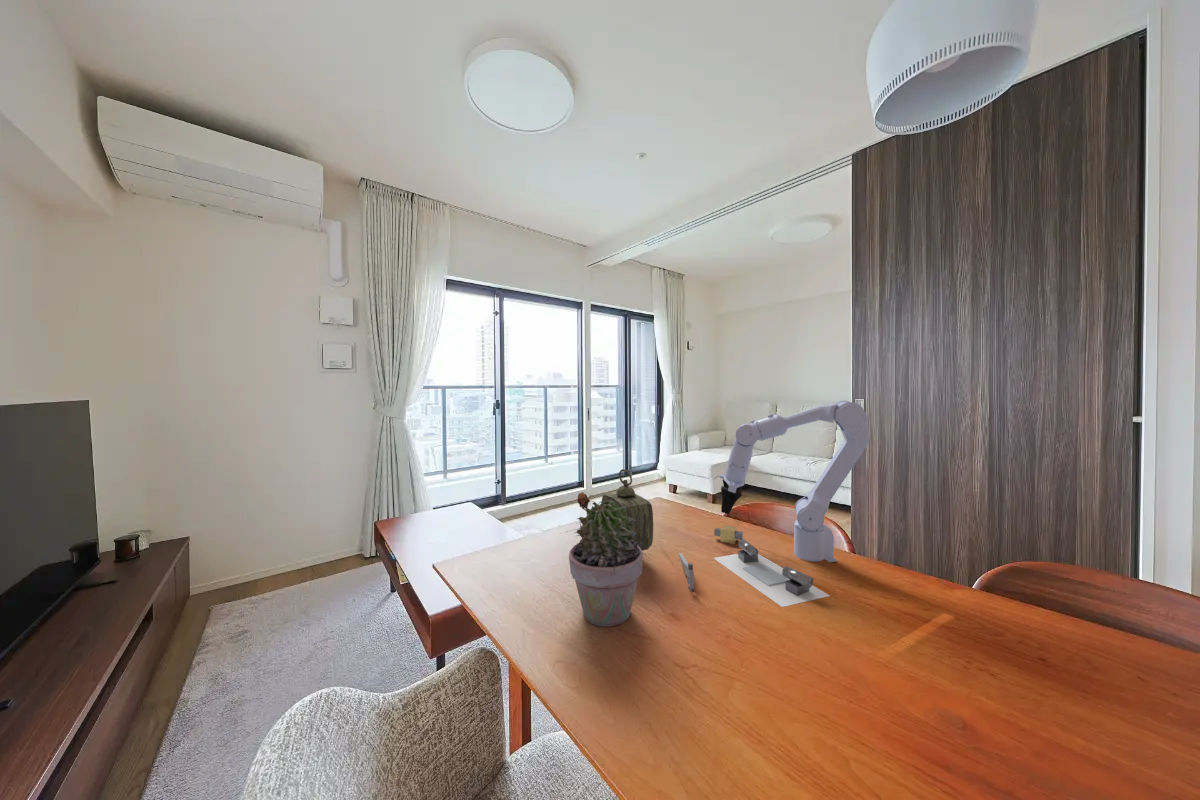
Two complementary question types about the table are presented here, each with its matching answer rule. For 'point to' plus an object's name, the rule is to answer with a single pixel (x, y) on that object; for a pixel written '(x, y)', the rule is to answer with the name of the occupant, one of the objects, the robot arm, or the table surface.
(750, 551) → the shaft
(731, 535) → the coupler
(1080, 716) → the table surface
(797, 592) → the shaft
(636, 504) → the tabletop clock
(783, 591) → the bench
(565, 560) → the table surface
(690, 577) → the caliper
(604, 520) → the potted plant
